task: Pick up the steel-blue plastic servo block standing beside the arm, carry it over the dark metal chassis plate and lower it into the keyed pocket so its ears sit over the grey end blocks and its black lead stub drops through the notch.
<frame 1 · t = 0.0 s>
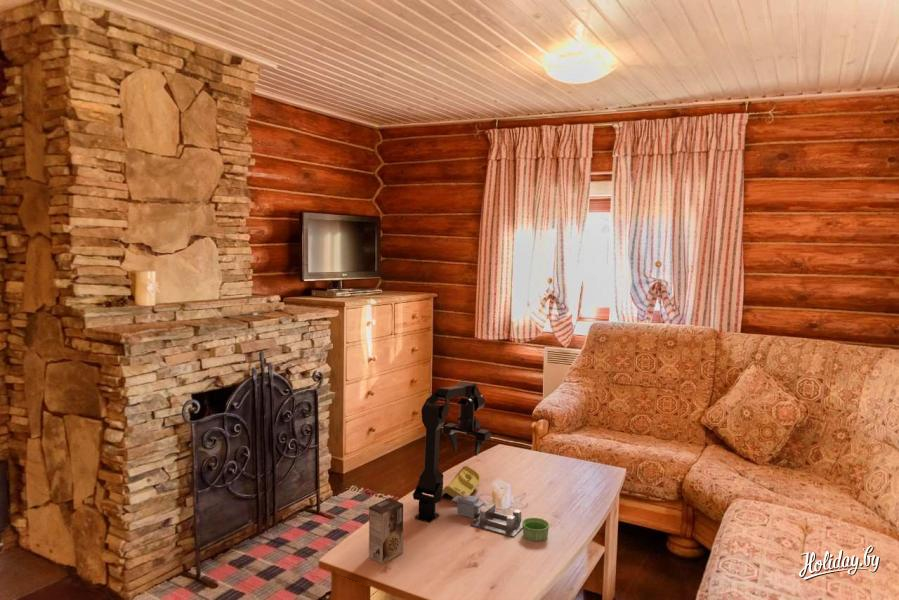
hand: (465, 453, 239), 15 cm above the table, fingers open, 9 cm apart
servo: (467, 513, 219), on the table
chassis: (500, 523, 212), on the table
ramekin: (535, 536, 204), on the table
coffee box: (385, 555, 189), on the table
plastic component: (461, 493, 238), on the table
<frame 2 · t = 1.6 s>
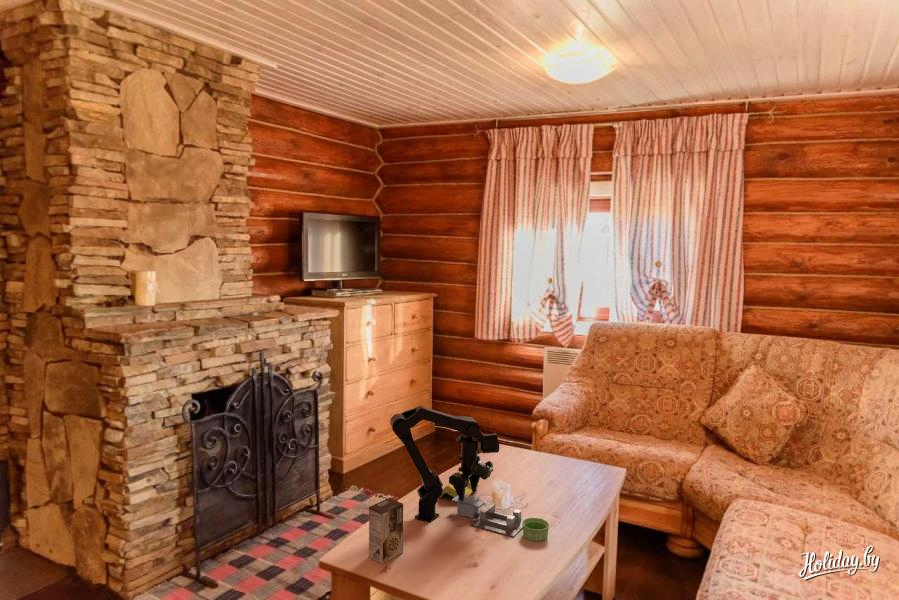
hand: (467, 496, 218), 6 cm above the table, fingers open, 9 cm apart
nothing on the table moved.
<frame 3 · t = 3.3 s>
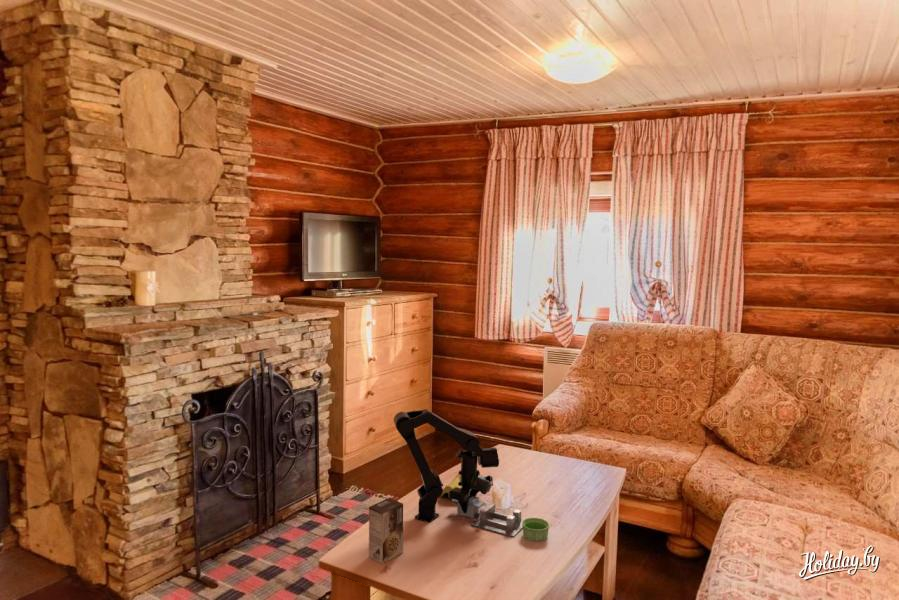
hand: (467, 510, 219), 1 cm above the table, fingers closed on servo, 4 cm apart
servo: (467, 513, 219), on the table, touching gripper
everything else where it was.
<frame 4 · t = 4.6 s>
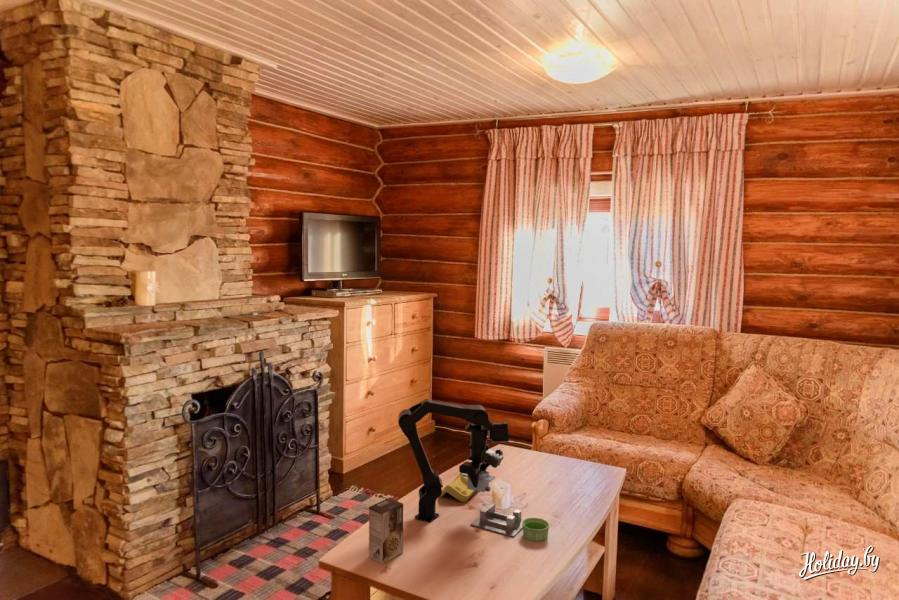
hand: (478, 485, 216), 11 cm above the table, fingers closed on servo, 4 cm apart
servo: (478, 488, 216), point 10 cm above the table, touching gripper
everything else where it was.
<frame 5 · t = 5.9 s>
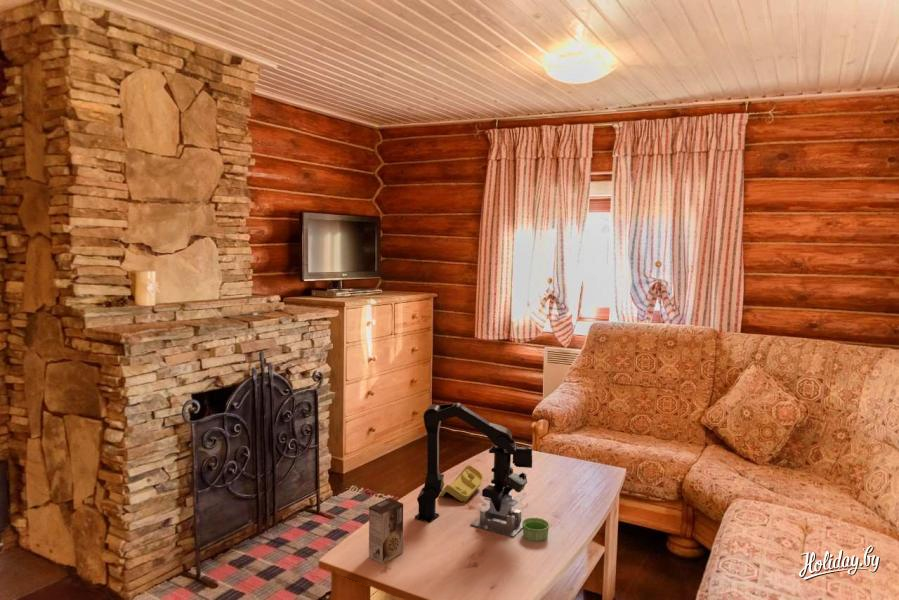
hand: (500, 509, 212), 5 cm above the table, fingers closed on servo, 4 cm apart
servo: (500, 512, 212), point 4 cm above the table, touching gripper
everything else where it was.
when the fingers open (3 cm above the table, at t = 6.9 s): servo drops 2 cm, resting on chassis.
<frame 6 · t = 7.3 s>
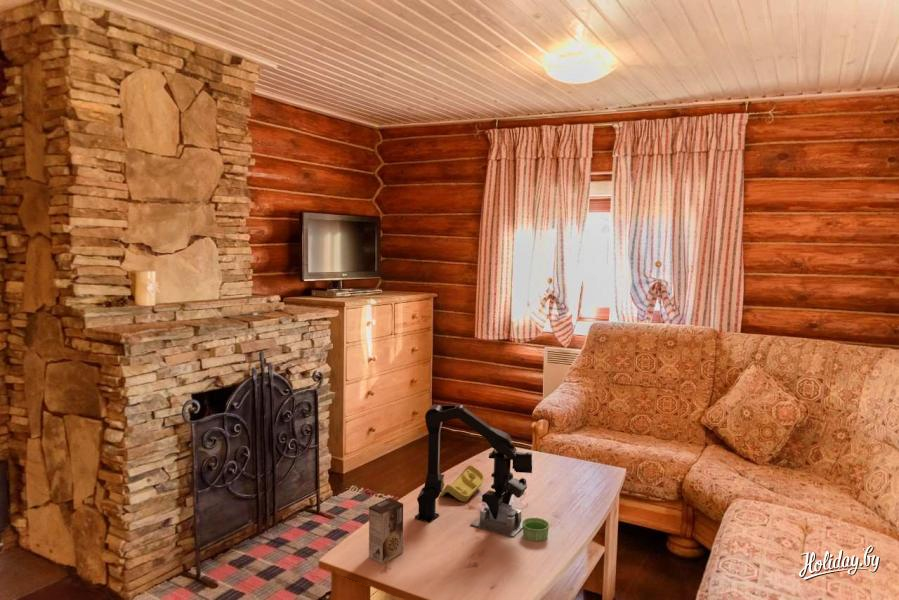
hand: (500, 514, 212), 3 cm above the table, fingers open, 8 cm apart
servo: (500, 521, 212), resting on chassis
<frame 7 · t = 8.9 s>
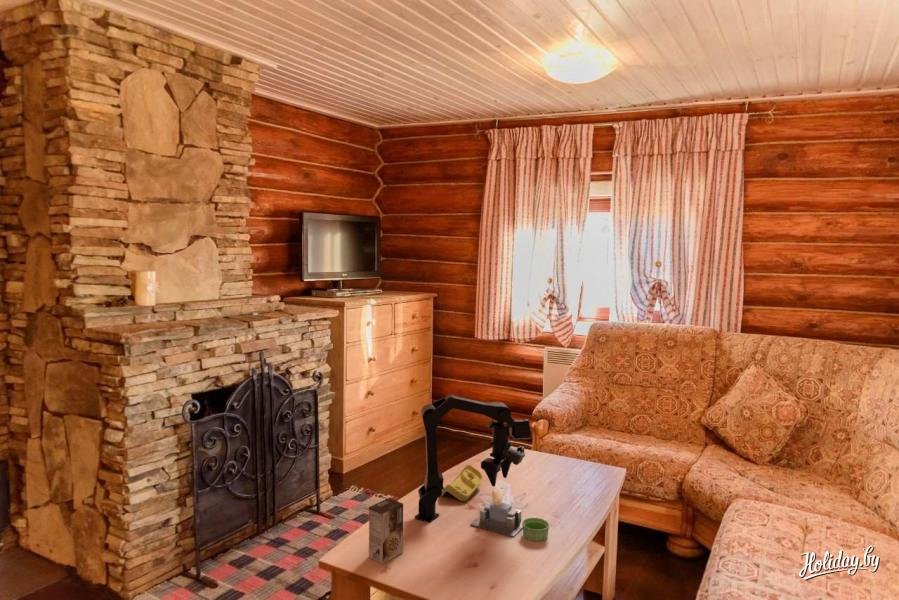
hand: (499, 481, 218), 12 cm above the table, fingers open, 9 cm apart
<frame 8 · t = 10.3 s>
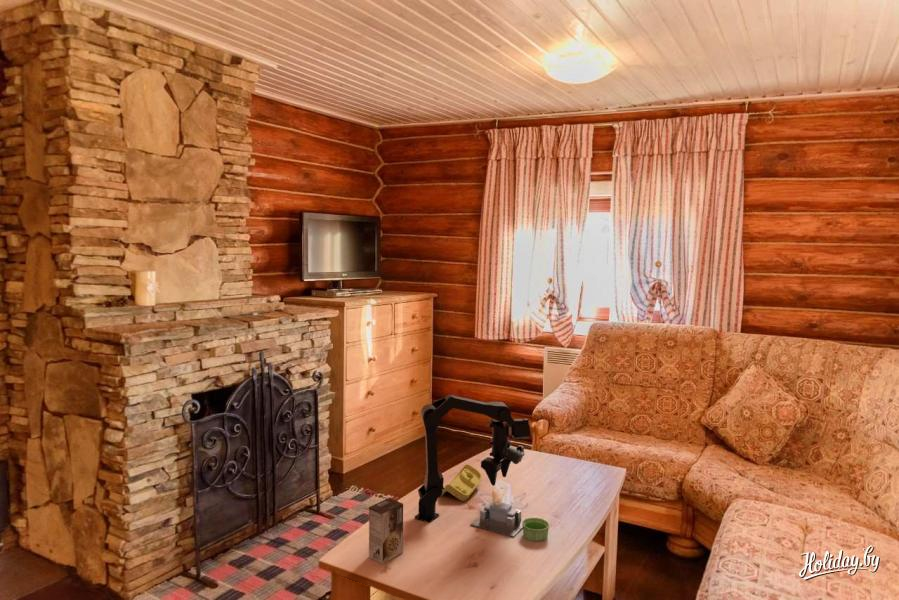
hand: (498, 481, 219), 12 cm above the table, fingers open, 9 cm apart
at the end: servo 0.0 cm off-centre on the chassis, point 0.5 cm above the chassis's base; servo tilted 0°; the gripper is holding nothing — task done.
